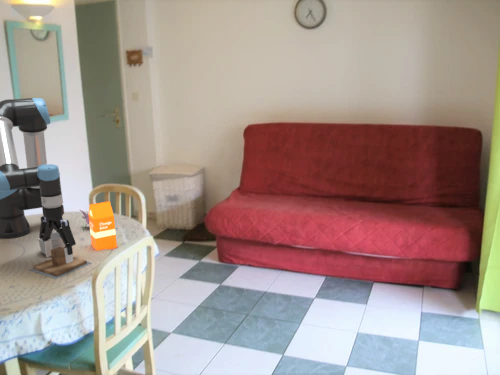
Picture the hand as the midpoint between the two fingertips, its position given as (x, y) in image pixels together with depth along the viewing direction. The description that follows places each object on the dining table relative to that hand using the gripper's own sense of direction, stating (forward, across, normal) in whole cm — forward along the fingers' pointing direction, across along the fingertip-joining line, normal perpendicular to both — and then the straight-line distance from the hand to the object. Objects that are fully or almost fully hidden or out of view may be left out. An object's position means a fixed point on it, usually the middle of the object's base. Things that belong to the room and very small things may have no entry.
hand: (59, 259), depth 196 cm
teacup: (+4, -16, +10) cm, 19 cm away
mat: (+4, 0, 0) cm, 4 cm away
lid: (+3, 0, 0) cm, 3 cm away
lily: (+4, -26, +37) cm, 46 cm away
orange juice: (+4, -2, +24) cm, 24 cm away
